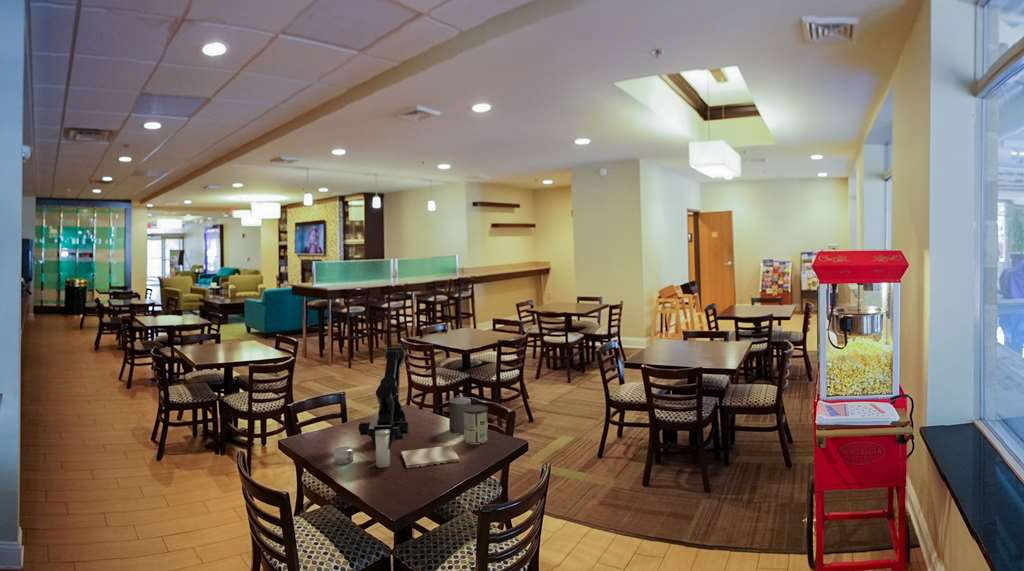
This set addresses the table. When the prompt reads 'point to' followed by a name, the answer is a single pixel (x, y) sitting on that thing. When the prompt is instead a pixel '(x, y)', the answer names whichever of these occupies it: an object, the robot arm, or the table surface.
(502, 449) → the table surface
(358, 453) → the table surface
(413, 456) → the birch board
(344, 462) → the grey tin
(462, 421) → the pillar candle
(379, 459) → the white cylinder
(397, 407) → the robot arm
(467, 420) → the coffee can
